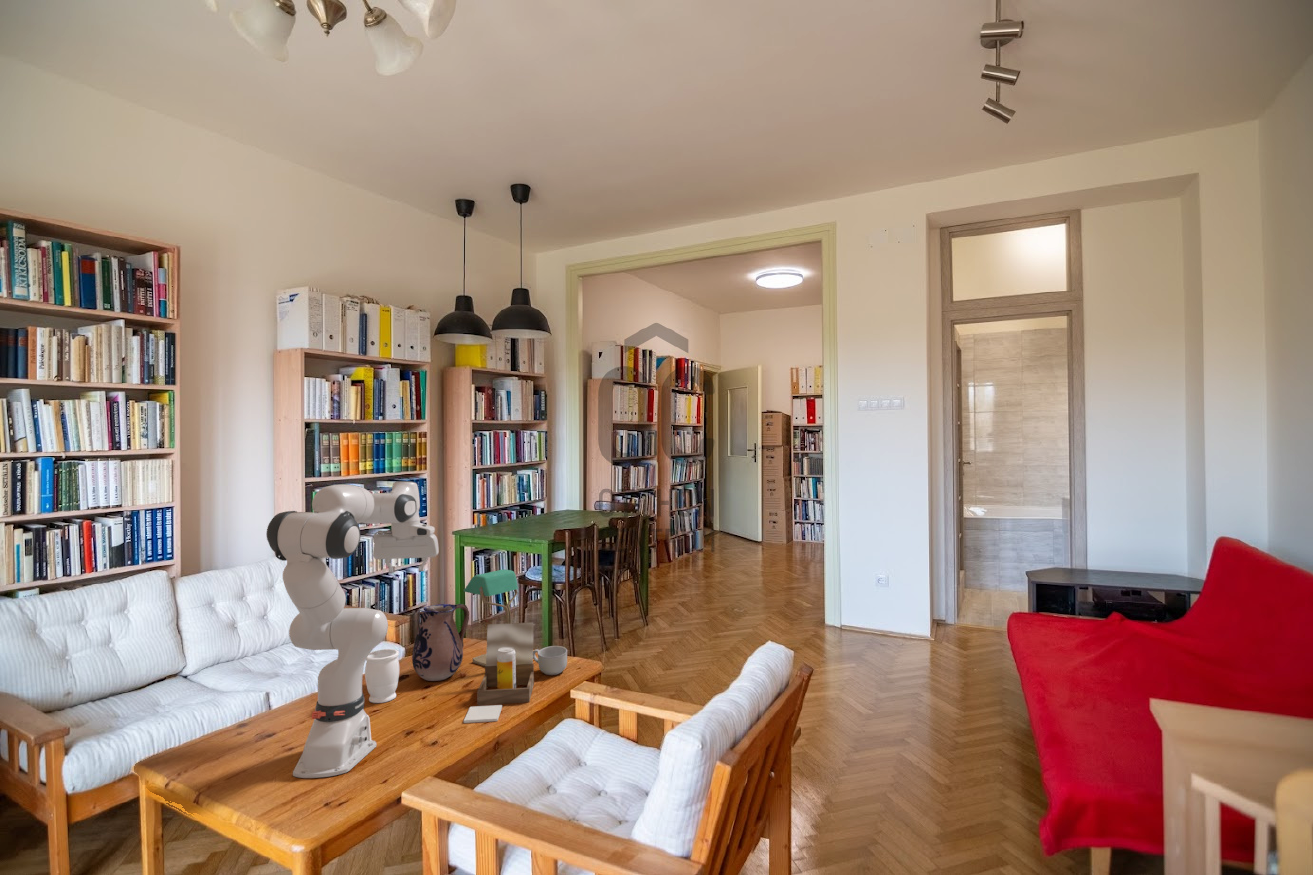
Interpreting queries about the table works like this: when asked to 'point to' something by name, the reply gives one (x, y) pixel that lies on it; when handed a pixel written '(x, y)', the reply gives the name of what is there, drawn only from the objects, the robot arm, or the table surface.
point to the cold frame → (523, 646)
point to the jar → (382, 675)
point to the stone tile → (483, 714)
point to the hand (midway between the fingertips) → (406, 571)
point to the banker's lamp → (493, 593)
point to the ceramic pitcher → (439, 642)
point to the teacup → (551, 659)
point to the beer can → (506, 668)
